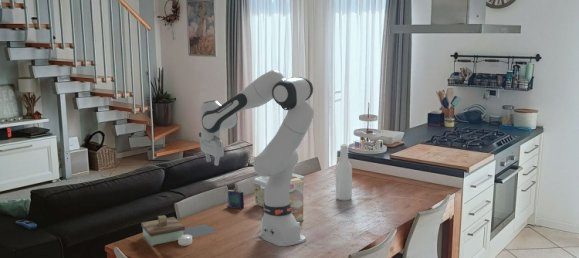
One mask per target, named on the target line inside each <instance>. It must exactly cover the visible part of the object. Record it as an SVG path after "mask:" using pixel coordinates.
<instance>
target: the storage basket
mask: <svg viewBox="0 0 579 258" xmlns="http://www.w3.org/2000/svg"><path fill="white" fill-rule="evenodd" d="M268 179H269V177H262V176H258V177H255V178H253V182H252V184H253V190H254V198H255V199H254V201H255V204H256V205H257V206H259V207H263V208H264V203H265V193H264V188H265V185H266V183H267V181H268ZM291 179H301V180H302V181H303V186H304V183H305V176H303V175H300V174H296V173H294V172H293V173H292V177H291Z"/></svg>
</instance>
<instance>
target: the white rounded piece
mask: <svg viewBox="0 0 579 258" xmlns="http://www.w3.org/2000/svg"><path fill="white" fill-rule="evenodd" d="M177 243H178V245H179V246H182V247H184V246H189V245H192V244H193V237H192V236H191V235H186V234H184V235H181V236H179V237H178V240H177Z"/></svg>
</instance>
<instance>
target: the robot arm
mask: <svg viewBox="0 0 579 258" xmlns="http://www.w3.org/2000/svg"><path fill="white" fill-rule="evenodd" d="M313 93H314V86H313V84H312V82H311V81H310V80H309V79H308V78H305V77H301V76H295V77H294V76H293V77H289V78H285V76H284V75H283V74H282V73H281V72H280V71H279V70H276V69H273V70H269V71H267V72H265V73H262V74H261V75H260V76H259V77H257V78H256V79H255V80H253V81H252V82H251V83H249V84H248V85H246V87H245V88H243V89H242V90H240V92H238V93H237V94H235V95H234V96H233V97H232V98H230V99H229V100H227V101H226V102H224V103H222V104H221V103H220V102H219V101H218V100H208V101H204V102H202V104H201V107H200V121H201V127H200V128H201V131H199V132H198V137H199V147H200V150H201V152H203V153H204V155H205V159H206V162H207V163H211V161H212V159H211V156H213V157H214V161H213V164H214V166H216V167H217V166H219V165H220V159H221V158H223V157H224V156H225V152H224V144H223V141H222V140H221V137H222V135H221V131H223V130H224V131H225V130H229V129H232V128H234V127H235V126H236V125H237V123H238V115H237V113H239V112H241V111H245V110H249V109H250V110H251V109H255V108H258V107H261V106H263V105H265V104H267V103H269V102H271V100H274V101H275V102H276V104H278V105H279V106H280V107H281V108H282V109H283V110H284V111H287V113H286V115H285V117H284V119H282V123H281V124H280V127H279V129H277V132H276V133H275V134H274V136H273V137H272V139H271V140H270V142H268V144H267V145H266V146H265V148H264V149H263V150H262V151H261V152H260V153H259V154H257V156H255V158H254V159H253V162H252V165H253V169H254V172H255V173H256V174H257V175H258V177H261V176H262V177H269V179H268V181H267V183H266V185H265V188H264V193H265V203H264V207H263V216H262V217H261V224H260V232H259V234H258V237H259V238H260V239H261V240H263V241H266V242H268V243H271V244H272V245H275V246H277V247H288V246H293V245H298V244H301V243H304V242H305V241H306V240H307V238H306V237H305V236H304V234H303V233H301V221H296V219H295V217H294V216H293V214H292V210H291V209H292V208H291V205H290V202H289V188H290V181H291V179H292V178H291V177H292V173H293V174H294V169H295V168H296V166H297V164H298V162H299V154H298V151H297V149H298V148H299V147H300V146H301V144H302V141H303V140H304V137H305V136H306V134H307V133H308V130H309V128H310V126H311V124H312V121H313V119H314V114H315V111H314V108H313V107H312V106H311V105H310V103H307V100H309V99H310V98H311V97H312V95H313Z"/></svg>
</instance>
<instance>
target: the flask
mask: <svg viewBox="0 0 579 258" xmlns="http://www.w3.org/2000/svg"><path fill="white" fill-rule="evenodd" d="M244 201H245V200H244V191H243V190H241V189H240V190H239V189H238V186H237V187H234V188H233V189H229V190H227V207H228V208H232V209H240V210H243V209H245V203H244Z"/></svg>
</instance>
